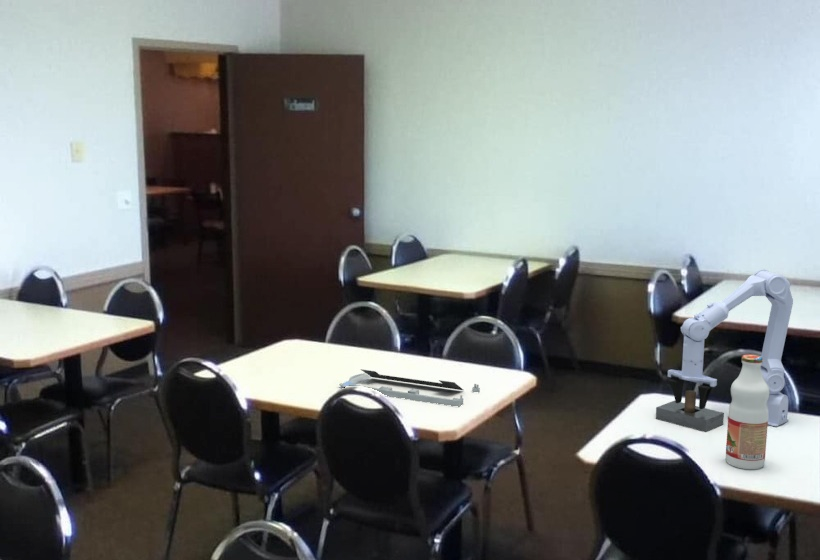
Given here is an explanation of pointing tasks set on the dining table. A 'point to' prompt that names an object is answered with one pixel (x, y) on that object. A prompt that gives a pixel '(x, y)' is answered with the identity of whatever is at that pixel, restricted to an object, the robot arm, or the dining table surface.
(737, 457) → the fruit juice
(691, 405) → the peg
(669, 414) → the block with square hole
